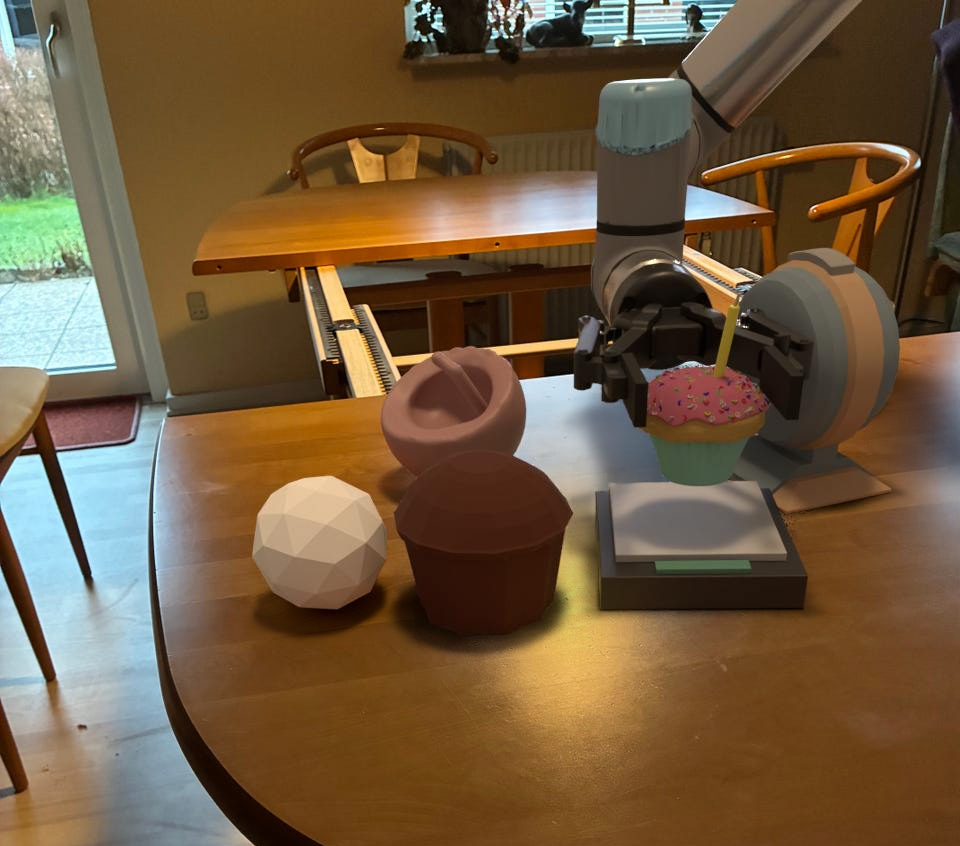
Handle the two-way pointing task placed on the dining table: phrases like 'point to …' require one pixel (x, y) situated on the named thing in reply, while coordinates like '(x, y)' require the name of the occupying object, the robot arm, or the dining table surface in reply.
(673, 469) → the cupcake
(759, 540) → the scale
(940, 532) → the dining table surface
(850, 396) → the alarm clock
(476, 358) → the mortar and pestle
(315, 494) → the white geodesic ball
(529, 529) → the muffin
